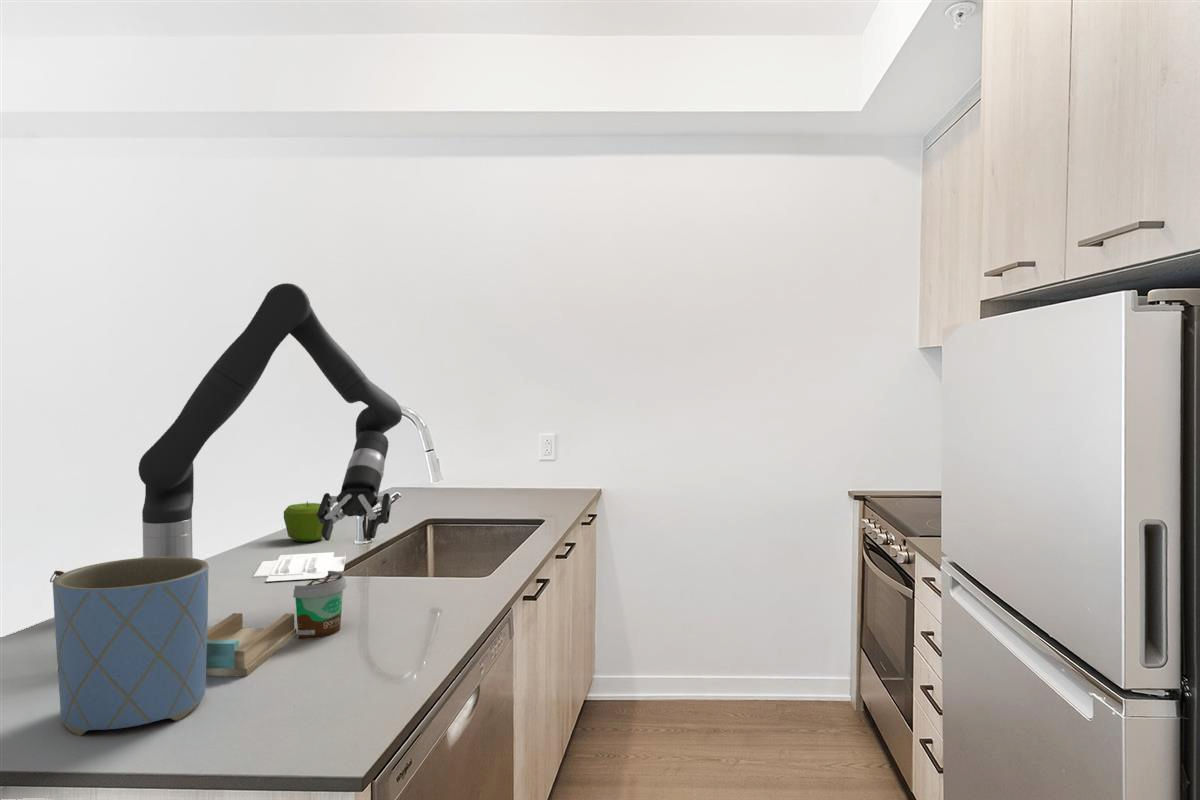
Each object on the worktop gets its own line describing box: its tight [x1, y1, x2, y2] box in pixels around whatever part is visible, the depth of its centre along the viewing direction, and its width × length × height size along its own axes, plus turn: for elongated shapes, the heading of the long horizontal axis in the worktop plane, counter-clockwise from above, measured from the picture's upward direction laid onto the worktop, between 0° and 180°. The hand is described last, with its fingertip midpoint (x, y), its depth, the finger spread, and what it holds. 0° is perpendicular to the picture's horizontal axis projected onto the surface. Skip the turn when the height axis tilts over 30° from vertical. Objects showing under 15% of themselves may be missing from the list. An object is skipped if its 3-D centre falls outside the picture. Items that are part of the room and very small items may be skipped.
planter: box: [52, 557, 209, 736], centre depth 114 cm, size 19×19×20 cm
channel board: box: [206, 612, 298, 677], centre depth 137 cm, size 12×20×5 cm, turn 179°
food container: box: [292, 571, 348, 640], centre depth 148 cm, size 12×6×10 cm, turn 168°
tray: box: [253, 551, 347, 582], centre depth 199 cm, size 20×28×4 cm
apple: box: [283, 501, 332, 543], centre depth 231 cm, size 12×12×11 cm
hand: (347, 538), depth 160 cm, fingers open, 8 cm apart
